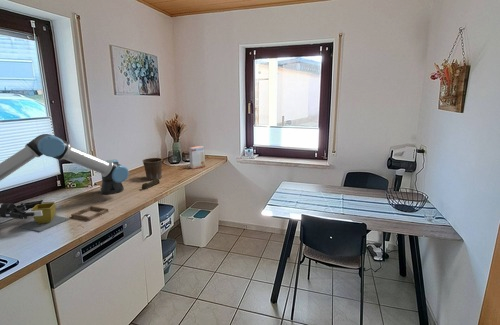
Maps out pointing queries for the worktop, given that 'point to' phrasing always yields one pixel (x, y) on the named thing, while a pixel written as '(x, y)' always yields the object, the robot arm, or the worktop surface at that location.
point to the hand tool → (150, 184)
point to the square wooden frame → (78, 216)
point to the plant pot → (153, 168)
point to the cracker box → (197, 157)
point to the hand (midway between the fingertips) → (48, 208)
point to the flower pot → (45, 212)
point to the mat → (44, 224)
